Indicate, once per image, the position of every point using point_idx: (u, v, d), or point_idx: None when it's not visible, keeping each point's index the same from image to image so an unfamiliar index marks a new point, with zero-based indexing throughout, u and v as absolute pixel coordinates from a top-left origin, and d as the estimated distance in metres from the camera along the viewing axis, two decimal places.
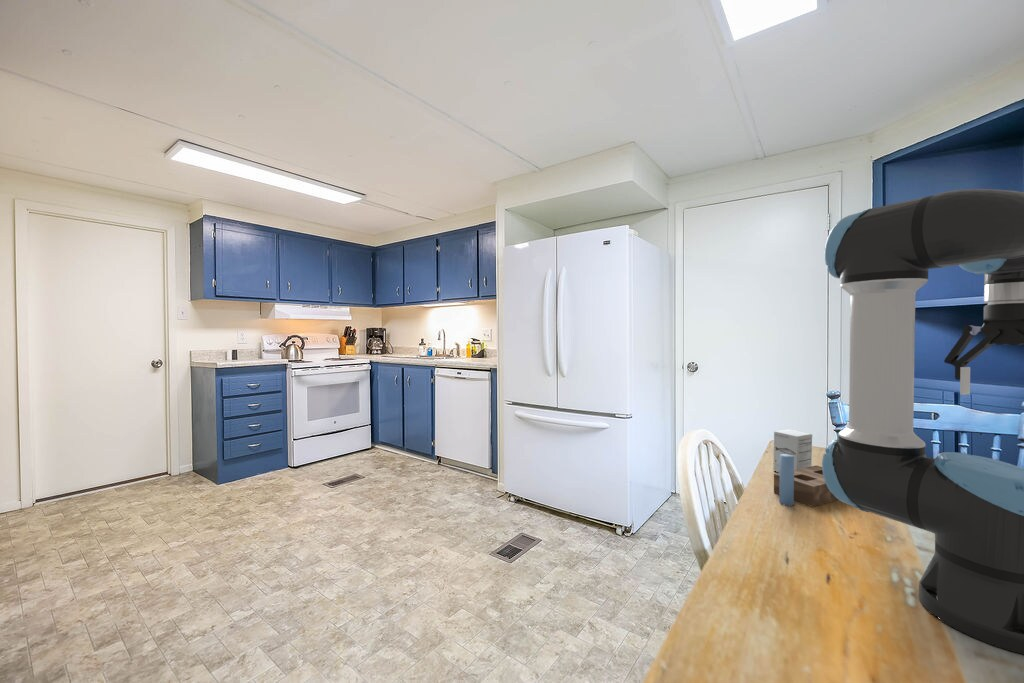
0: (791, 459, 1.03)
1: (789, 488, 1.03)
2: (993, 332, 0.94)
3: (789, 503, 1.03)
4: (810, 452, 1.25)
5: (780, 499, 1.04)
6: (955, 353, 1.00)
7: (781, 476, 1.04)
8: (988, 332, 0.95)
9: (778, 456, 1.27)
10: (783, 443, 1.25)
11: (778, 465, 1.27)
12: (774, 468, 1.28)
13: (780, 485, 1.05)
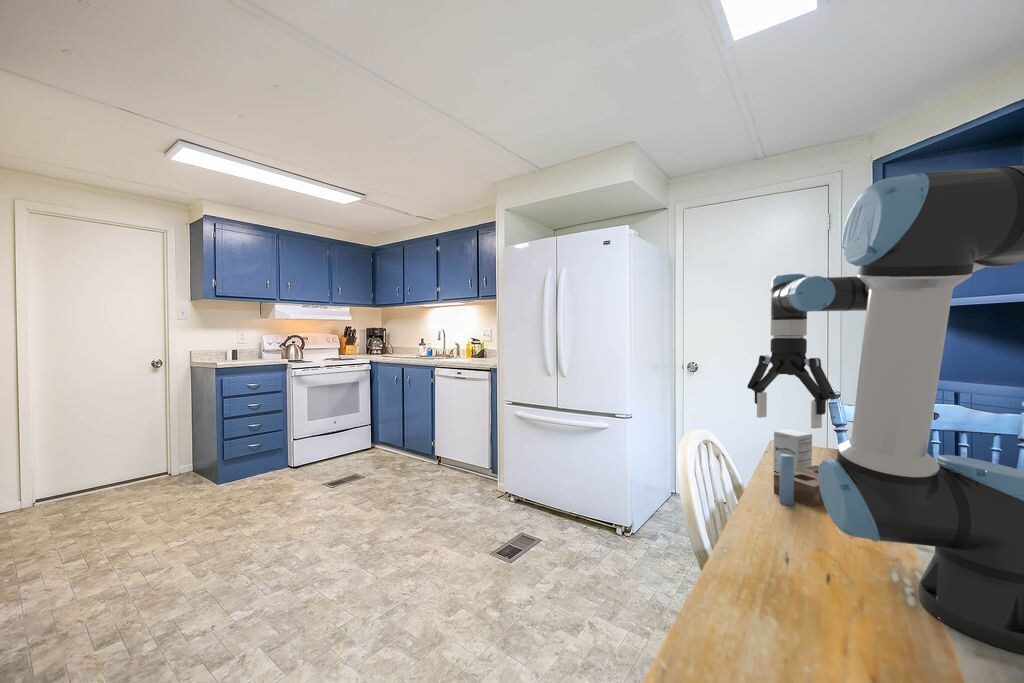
0: (791, 459, 1.03)
1: (789, 488, 1.03)
2: (776, 363, 1.05)
3: (789, 503, 1.03)
4: (810, 452, 1.25)
5: (780, 499, 1.04)
6: (754, 380, 1.11)
7: (781, 476, 1.04)
8: (774, 362, 1.06)
9: (778, 455, 1.27)
10: (783, 443, 1.25)
11: (778, 465, 1.27)
12: (774, 468, 1.28)
13: (780, 485, 1.05)
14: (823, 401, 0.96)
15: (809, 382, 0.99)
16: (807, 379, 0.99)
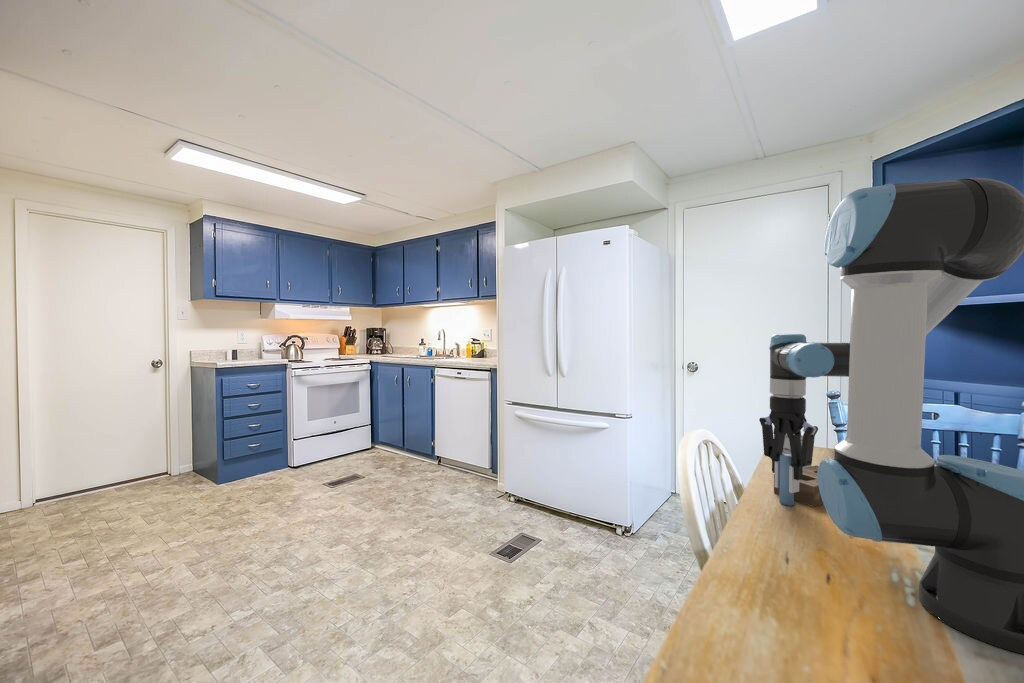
0: (791, 459, 1.03)
1: None
2: (775, 422, 1.05)
3: (789, 503, 1.03)
4: None
5: (780, 499, 1.04)
6: (767, 445, 1.08)
7: (781, 476, 1.04)
8: (774, 419, 1.06)
9: None
10: None
11: None
12: None
13: (780, 485, 1.04)
14: (800, 467, 1.01)
15: (796, 447, 1.01)
16: (796, 444, 1.01)
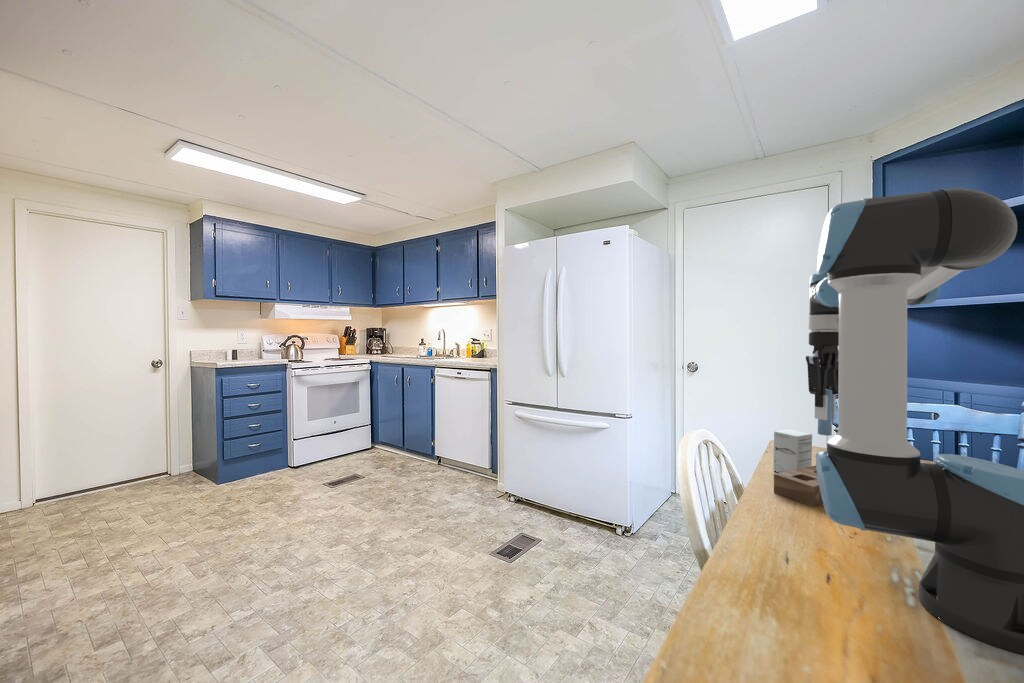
0: None
1: None
2: None
3: (818, 431, 1.12)
4: (810, 452, 1.25)
5: None
6: None
7: None
8: None
9: (778, 455, 1.27)
10: (783, 443, 1.25)
11: (778, 465, 1.27)
12: (774, 468, 1.28)
13: None
14: (816, 395, 1.11)
15: None
16: None
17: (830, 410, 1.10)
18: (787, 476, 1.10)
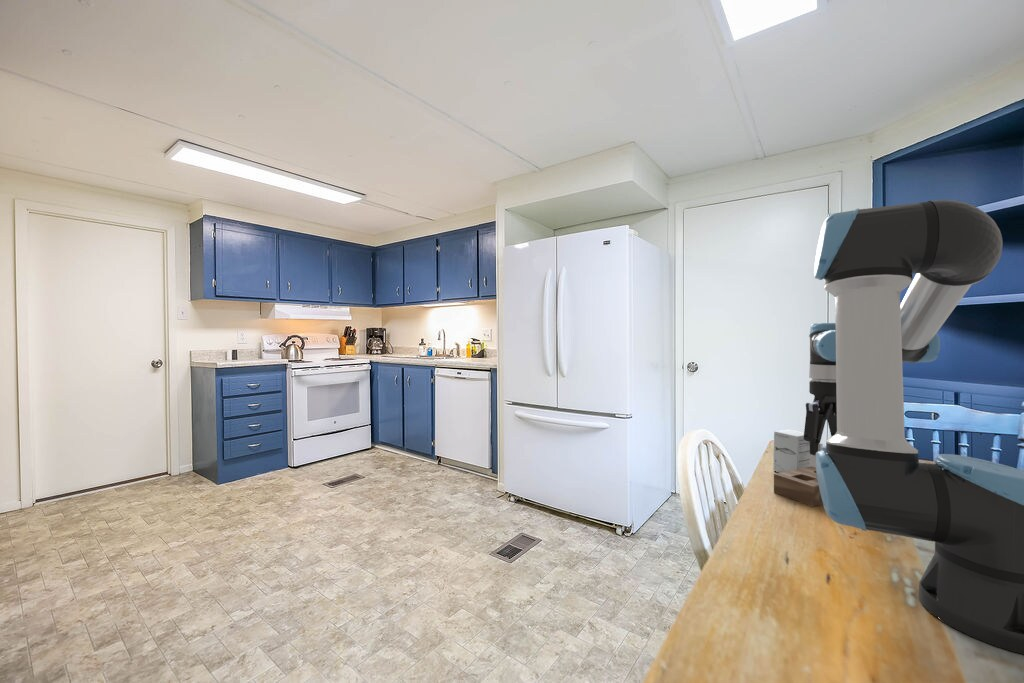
0: None
1: None
2: None
3: None
4: None
5: None
6: None
7: None
8: None
9: (778, 455, 1.27)
10: (783, 443, 1.25)
11: (778, 465, 1.27)
12: (774, 468, 1.28)
13: None
14: (811, 443, 1.10)
15: None
16: None
17: None
18: (787, 476, 1.10)
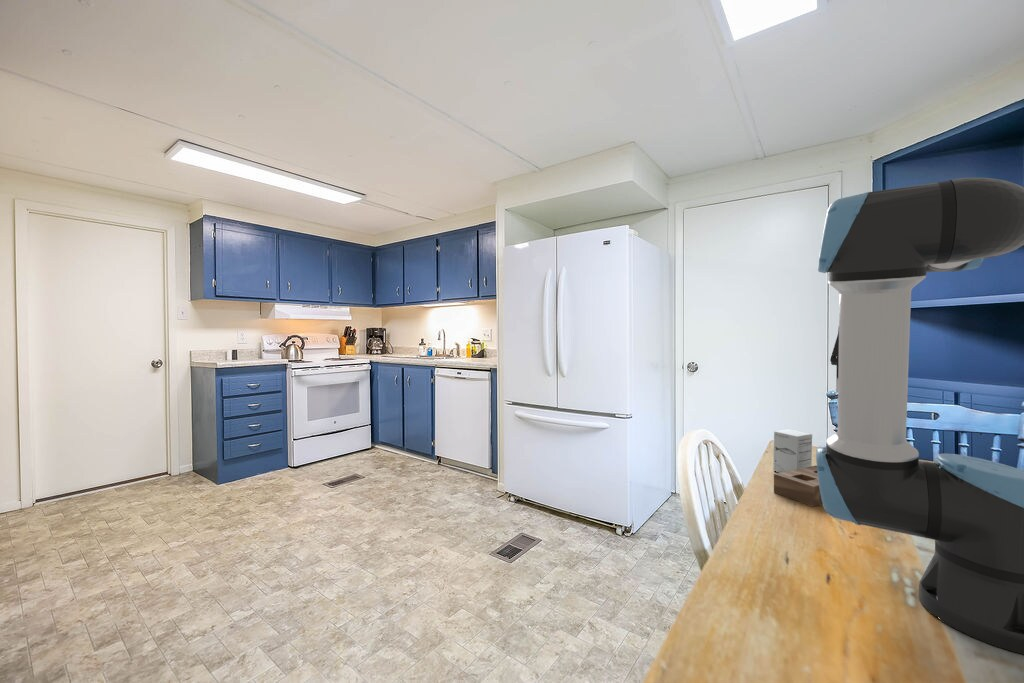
0: None
1: None
2: None
3: None
4: (810, 452, 1.25)
5: None
6: None
7: None
8: None
9: (778, 455, 1.27)
10: (783, 443, 1.25)
11: (778, 465, 1.27)
12: (774, 468, 1.28)
13: None
14: (838, 365, 1.00)
15: None
16: None
17: None
18: (787, 476, 1.10)
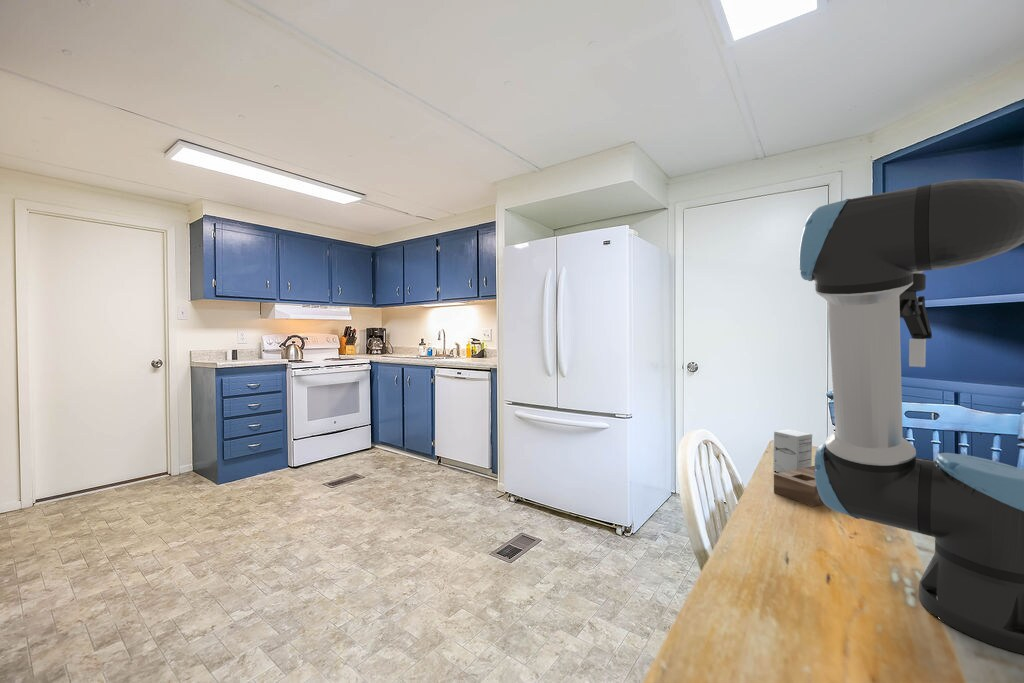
0: None
1: None
2: None
3: None
4: (810, 452, 1.25)
5: None
6: None
7: None
8: None
9: (778, 456, 1.27)
10: (783, 443, 1.25)
11: (778, 465, 1.27)
12: (774, 468, 1.28)
13: None
14: None
15: None
16: None
17: None
18: (787, 476, 1.10)
